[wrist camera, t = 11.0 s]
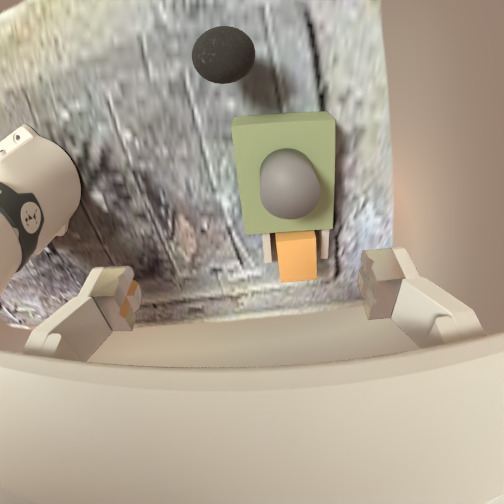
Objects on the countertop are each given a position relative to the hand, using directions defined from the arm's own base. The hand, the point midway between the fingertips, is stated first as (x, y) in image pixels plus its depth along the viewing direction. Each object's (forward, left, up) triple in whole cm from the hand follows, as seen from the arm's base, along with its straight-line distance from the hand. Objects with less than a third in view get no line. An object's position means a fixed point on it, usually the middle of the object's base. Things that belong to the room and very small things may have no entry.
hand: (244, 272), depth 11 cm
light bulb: (-2, +6, -29) cm, 30 cm away
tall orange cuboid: (+4, -20, -29) cm, 36 cm away
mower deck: (+3, -12, -29) cm, 32 cm away
